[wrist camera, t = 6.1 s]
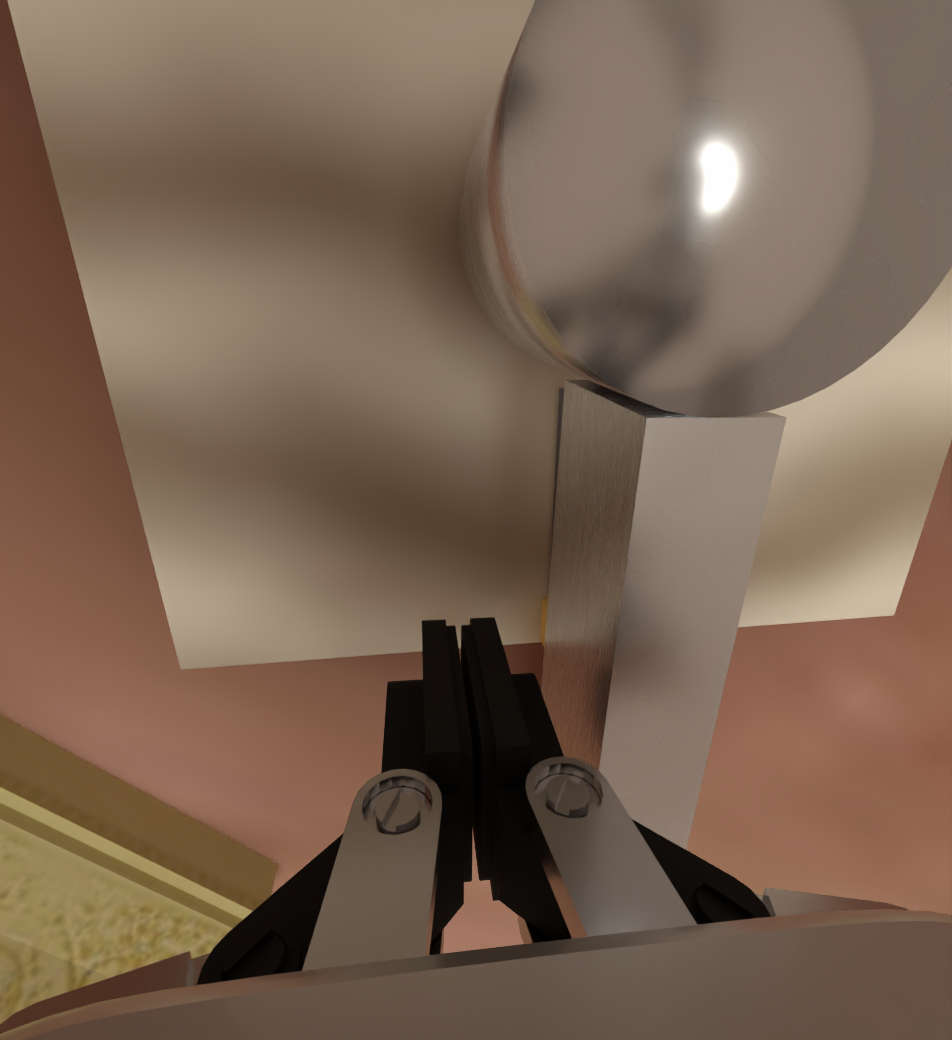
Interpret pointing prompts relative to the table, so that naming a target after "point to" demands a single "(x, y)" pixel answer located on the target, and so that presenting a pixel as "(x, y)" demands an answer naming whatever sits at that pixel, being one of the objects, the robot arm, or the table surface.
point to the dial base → (377, 337)
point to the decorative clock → (104, 875)
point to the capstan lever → (694, 312)
